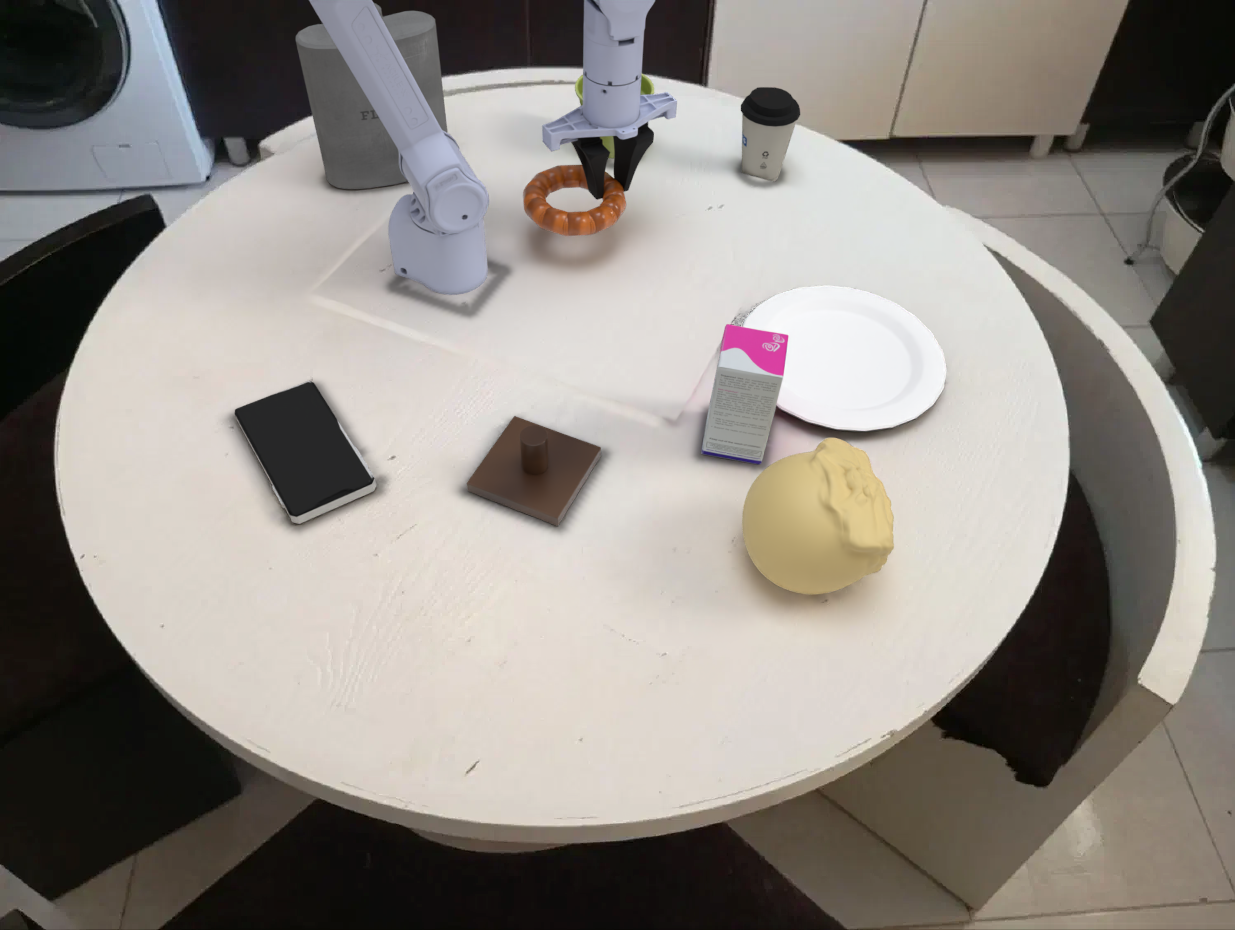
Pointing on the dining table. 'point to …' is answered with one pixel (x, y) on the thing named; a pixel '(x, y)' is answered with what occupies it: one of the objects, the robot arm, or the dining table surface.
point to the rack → (534, 470)
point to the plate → (852, 358)
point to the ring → (572, 221)
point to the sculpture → (818, 519)
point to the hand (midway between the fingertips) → (608, 190)
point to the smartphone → (304, 452)
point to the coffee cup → (767, 131)
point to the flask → (365, 101)
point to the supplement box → (744, 393)
